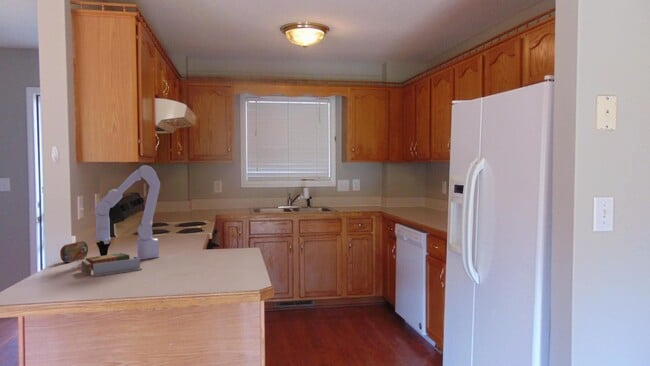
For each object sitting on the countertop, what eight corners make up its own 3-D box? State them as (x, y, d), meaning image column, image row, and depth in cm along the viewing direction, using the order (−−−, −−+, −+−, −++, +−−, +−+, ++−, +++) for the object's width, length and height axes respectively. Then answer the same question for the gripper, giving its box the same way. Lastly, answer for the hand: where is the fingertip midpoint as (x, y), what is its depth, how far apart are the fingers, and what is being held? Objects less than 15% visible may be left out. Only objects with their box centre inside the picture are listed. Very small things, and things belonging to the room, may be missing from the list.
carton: (85, 267, 199) (85, 257, 198) (121, 261, 211) (121, 252, 211) (93, 270, 193) (93, 260, 193) (130, 263, 205) (129, 254, 205)
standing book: (86, 271, 190) (86, 259, 190) (91, 275, 183) (90, 263, 183) (82, 271, 189) (81, 260, 189) (86, 276, 182) (85, 264, 182)
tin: (65, 264, 203) (64, 245, 202) (59, 264, 204) (58, 245, 203) (88, 257, 218) (88, 239, 217) (83, 256, 218) (82, 239, 218)
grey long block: (139, 268, 195) (139, 258, 195) (141, 269, 192) (141, 259, 192) (93, 275, 184) (93, 264, 184) (95, 276, 181) (94, 265, 181)
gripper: (90, 226, 212) (91, 255, 212) (96, 230, 200) (97, 261, 201) (106, 225, 216) (107, 253, 217) (113, 229, 204) (114, 259, 205)
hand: (103, 257), depth 209 cm, fingers closed
